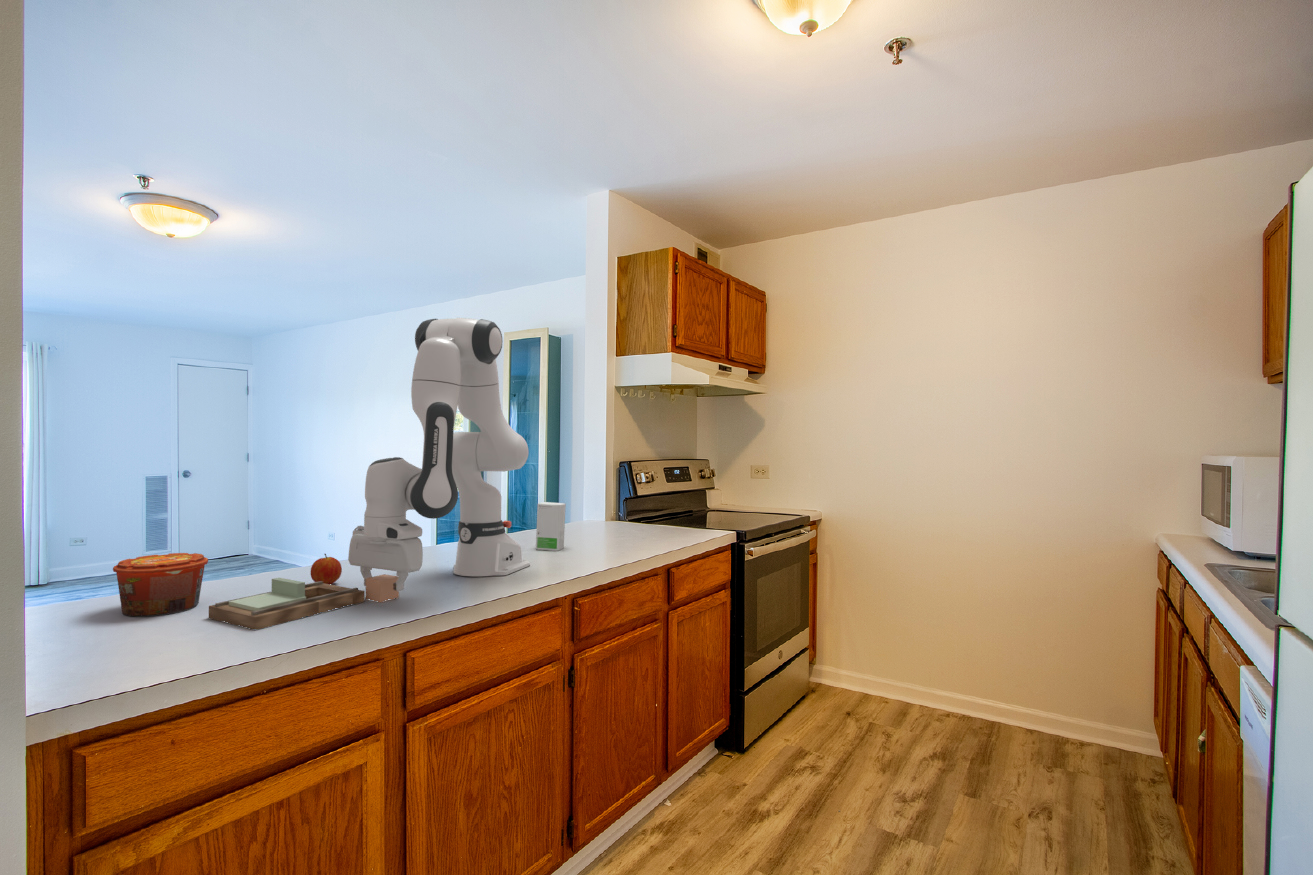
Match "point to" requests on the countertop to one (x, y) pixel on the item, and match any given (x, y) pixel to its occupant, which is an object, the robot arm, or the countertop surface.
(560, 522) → the skincare box
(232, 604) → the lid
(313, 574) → the fruit
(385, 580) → the terracotta block
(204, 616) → the countertop surface
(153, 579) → the food container
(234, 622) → the puzzle board
